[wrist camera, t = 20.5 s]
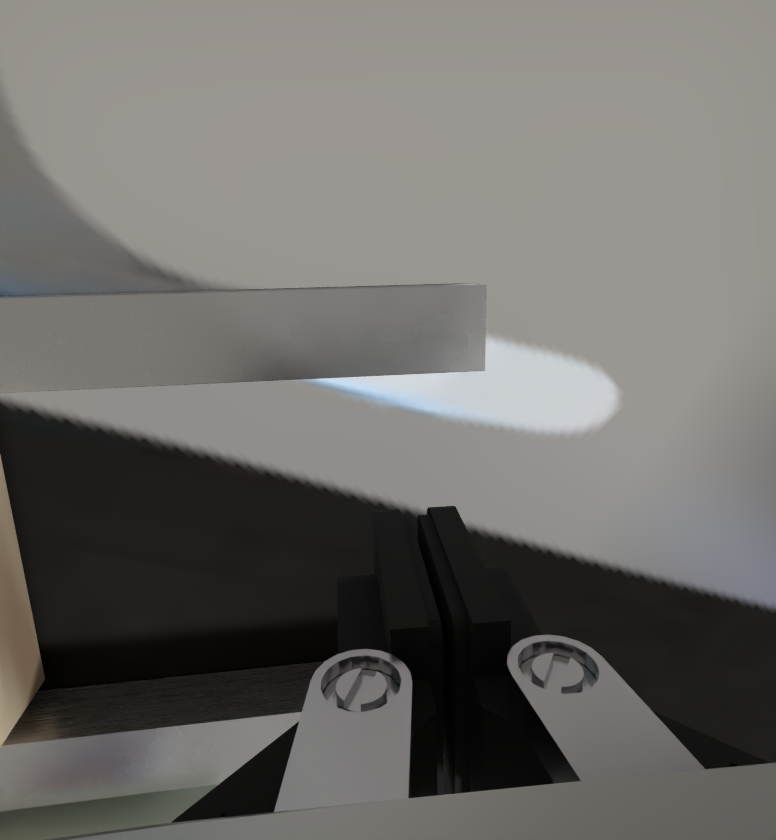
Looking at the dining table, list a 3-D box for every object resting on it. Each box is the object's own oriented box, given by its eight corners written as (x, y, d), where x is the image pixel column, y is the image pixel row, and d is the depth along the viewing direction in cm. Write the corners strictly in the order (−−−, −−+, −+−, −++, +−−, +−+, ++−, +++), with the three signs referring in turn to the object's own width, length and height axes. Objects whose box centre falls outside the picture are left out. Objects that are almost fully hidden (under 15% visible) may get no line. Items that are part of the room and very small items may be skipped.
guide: (464, 283, 15) (534, 288, 10) (460, 701, 18) (513, 852, 14) (-491, 310, 13) (-980, 332, 8) (-302, 789, 16) (-567, 1012, 11)
